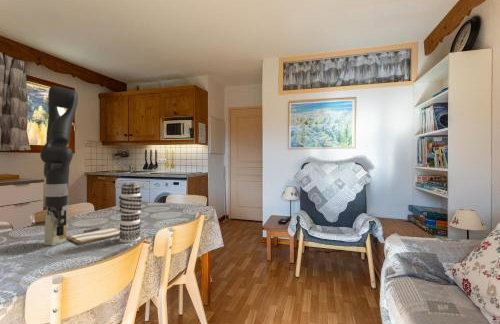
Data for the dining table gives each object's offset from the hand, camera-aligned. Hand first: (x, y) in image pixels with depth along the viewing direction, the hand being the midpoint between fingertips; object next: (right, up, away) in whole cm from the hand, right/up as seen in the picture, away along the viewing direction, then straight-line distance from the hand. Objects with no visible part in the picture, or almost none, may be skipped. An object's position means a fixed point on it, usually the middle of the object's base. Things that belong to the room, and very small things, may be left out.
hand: (56, 233), depth 105 cm
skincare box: (0, -4, 0) cm, 4 cm away
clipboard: (+11, -4, +10) cm, 16 cm away
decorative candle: (+27, -5, +7) cm, 29 cm away
